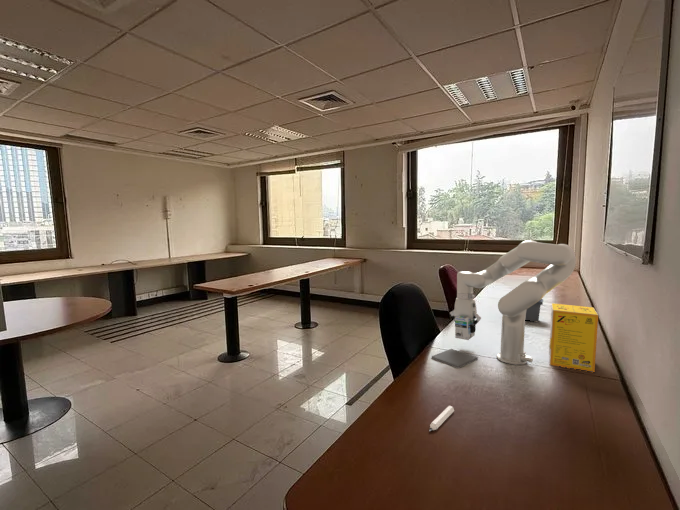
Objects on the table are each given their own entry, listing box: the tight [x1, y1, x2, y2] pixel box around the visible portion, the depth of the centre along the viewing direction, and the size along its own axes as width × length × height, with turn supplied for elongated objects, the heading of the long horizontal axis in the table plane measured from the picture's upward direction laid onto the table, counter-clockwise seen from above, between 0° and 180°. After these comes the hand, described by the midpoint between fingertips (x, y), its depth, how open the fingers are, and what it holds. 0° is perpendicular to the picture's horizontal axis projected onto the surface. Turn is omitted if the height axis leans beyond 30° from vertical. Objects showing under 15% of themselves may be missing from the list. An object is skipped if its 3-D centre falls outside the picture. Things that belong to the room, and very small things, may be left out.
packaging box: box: [548, 303, 599, 373], centre depth 153 cm, size 16×16×25 cm
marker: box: [428, 405, 455, 432], centre depth 107 cm, size 3×2×16 cm
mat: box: [431, 348, 479, 369], centre depth 158 cm, size 14×16×1 cm
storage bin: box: [525, 298, 544, 322], centre depth 227 cm, size 21×16×14 cm
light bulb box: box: [454, 316, 476, 341], centre depth 170 cm, size 11×7×11 cm, turn 142°
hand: (465, 330), depth 170 cm, fingers closed on light bulb box, 7 cm apart
